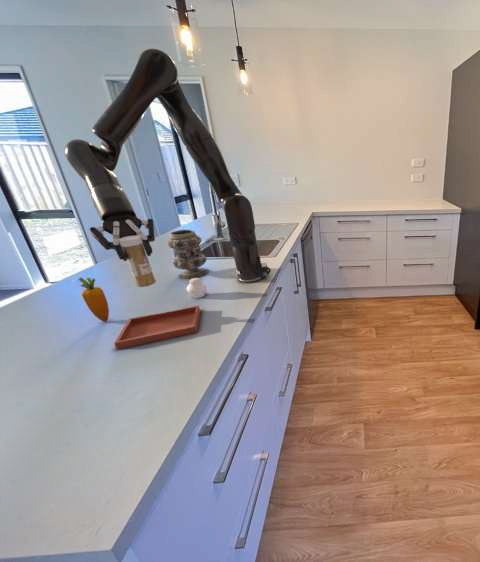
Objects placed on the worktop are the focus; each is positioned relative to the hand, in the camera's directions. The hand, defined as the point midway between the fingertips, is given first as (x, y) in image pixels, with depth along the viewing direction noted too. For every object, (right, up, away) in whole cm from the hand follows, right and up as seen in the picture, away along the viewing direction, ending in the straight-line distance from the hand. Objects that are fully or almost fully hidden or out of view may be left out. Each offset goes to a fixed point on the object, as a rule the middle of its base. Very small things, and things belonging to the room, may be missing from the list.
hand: (137, 256), depth 79 cm
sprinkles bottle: (-1, -7, +5) cm, 9 cm away
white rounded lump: (0, -12, +28) cm, 31 cm away
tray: (0, -20, +9) cm, 22 cm away
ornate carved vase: (-14, -3, +48) cm, 50 cm away
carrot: (-20, -19, +13) cm, 31 cm away
